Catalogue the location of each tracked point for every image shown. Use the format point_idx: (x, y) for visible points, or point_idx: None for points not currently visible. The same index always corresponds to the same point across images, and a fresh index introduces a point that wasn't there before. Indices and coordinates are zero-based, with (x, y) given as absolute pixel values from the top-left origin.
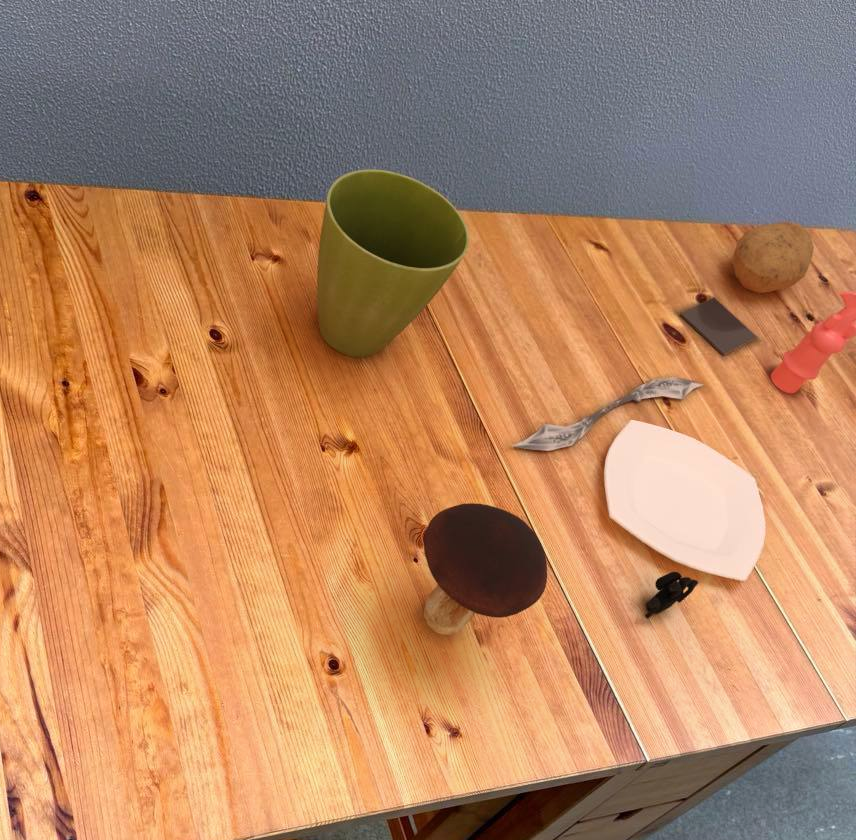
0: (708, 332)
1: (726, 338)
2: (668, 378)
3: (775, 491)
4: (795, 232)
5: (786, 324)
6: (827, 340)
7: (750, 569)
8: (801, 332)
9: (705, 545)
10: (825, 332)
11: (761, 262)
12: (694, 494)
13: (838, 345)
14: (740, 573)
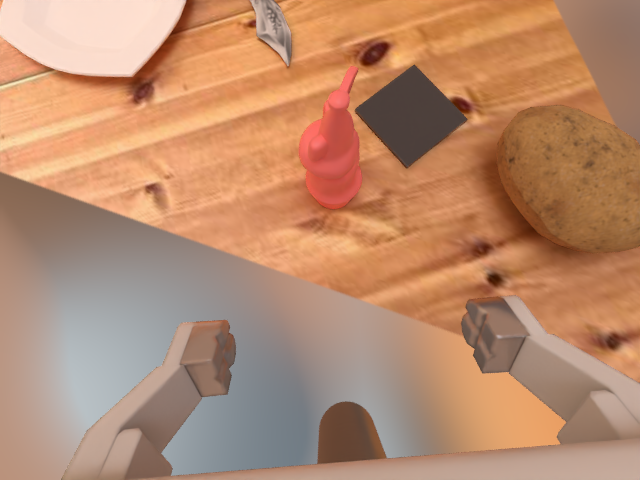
0: (389, 94)
1: (387, 118)
2: (285, 24)
3: (143, 125)
4: (638, 184)
5: (460, 230)
6: (307, 128)
7: (7, 38)
8: (451, 252)
9: (51, 15)
10: (320, 122)
11: (523, 119)
12: (114, 16)
13: (301, 147)
14: (2, 27)
